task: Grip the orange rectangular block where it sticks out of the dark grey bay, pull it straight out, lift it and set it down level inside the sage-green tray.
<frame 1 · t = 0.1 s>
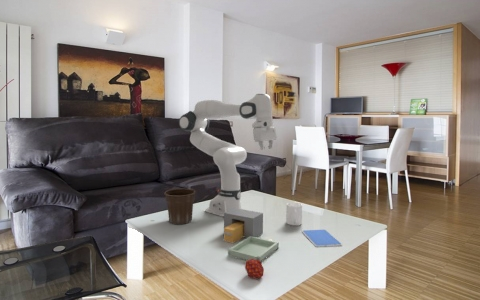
hand: (266, 149, 174), 39 cm above the table, tool pointing down, fingers open, 8 cm apart
red bumpy oval lump: (254, 276, 114), on the table
mug: (294, 224, 170), on the table
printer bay: (243, 233, 156), on the table
tablet computer: (320, 239, 150), on the table
plant pot: (180, 221, 174), on the table
orange rectangular block: (235, 238, 150), on the table
tray: (254, 251, 134), on the table
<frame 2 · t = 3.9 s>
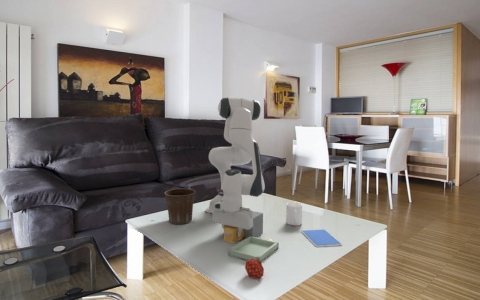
hand: (232, 235, 147), 2 cm above the table, tool pointing down, fingers closed on orange rectangular block, 5 cm apart
orange rectangular block: (236, 237, 150), on the table, touching gripper
everything else where it was.
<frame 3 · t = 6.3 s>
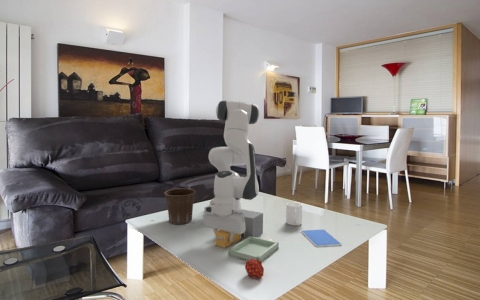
hand: (224, 239, 141), 2 cm above the table, tool pointing down, fingers closed on orange rectangular block, 5 cm apart
orange rectangular block: (228, 242, 144), on the table, touching gripper
everything else where it was.
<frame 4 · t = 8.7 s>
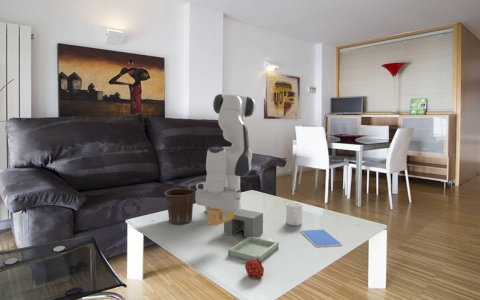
hand: (216, 217, 136), 13 cm above the table, tool pointing down, fingers closed on orange rectangular block, 5 cm apart
orange rectangular block: (221, 220, 139), point 11 cm above the table, touching gripper
everything else where it was.
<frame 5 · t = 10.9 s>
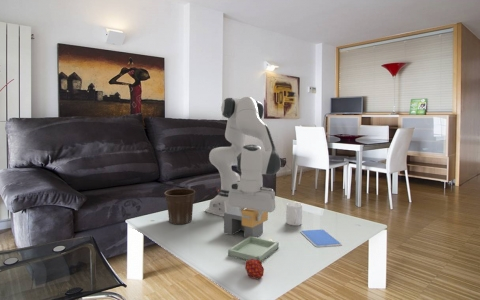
hand: (251, 219, 130), 15 cm above the table, tool pointing down, fingers closed on orange rectangular block, 5 cm apart
orange rectangular block: (255, 222, 133), point 13 cm above the table, touching gripper
everything else where it was.
when the fingers open (5 cm above the table, at t = 13.0 s): orange rectangular block drops 2 cm, resting on tray.
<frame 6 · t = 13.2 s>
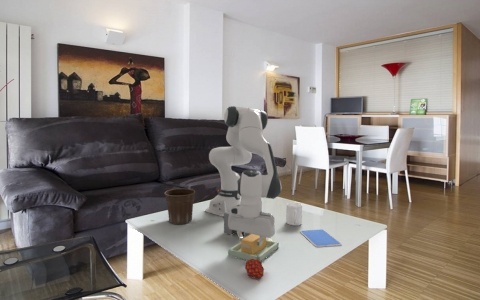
hand: (250, 243, 131), 5 cm above the table, tool pointing down, fingers open, 7 cm apart
orange rectangular block: (254, 250, 134), point 1 cm above the table, touching tray
everything else where it was.
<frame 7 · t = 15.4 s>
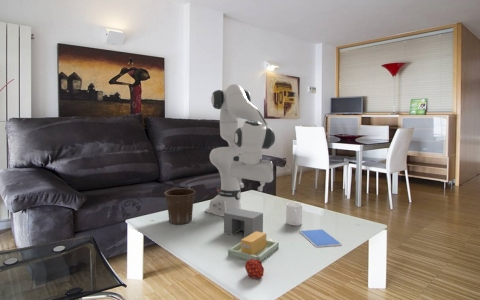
hand: (250, 189, 141), 24 cm above the table, tool pointing down, fingers open, 8 cm apart
nothing on the table moved.
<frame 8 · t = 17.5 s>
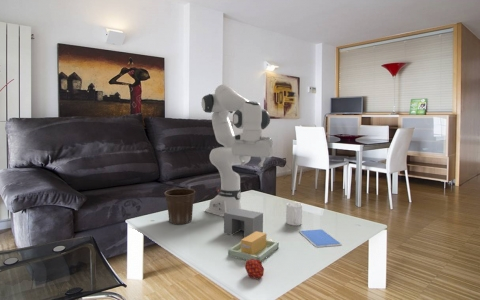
hand: (251, 166, 151), 33 cm above the table, tool pointing down, fingers open, 8 cm apart
nothing on the table moved.
at the end: orange rectangular block inside the target area on the tray (0.1 cm from its centre), point 0.6 cm above the tray's base; orange rectangular block tilted 0°; the gripper is holding nothing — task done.
